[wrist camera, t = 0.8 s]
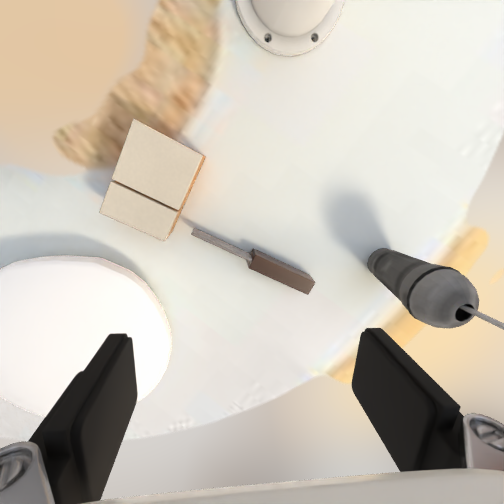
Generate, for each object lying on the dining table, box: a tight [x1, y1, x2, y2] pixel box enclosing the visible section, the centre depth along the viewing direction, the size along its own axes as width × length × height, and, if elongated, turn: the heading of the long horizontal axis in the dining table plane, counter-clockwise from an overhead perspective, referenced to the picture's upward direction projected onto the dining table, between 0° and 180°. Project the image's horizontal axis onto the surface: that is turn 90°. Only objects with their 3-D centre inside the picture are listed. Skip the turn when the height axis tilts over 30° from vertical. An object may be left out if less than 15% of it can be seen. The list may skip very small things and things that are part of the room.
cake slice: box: [99, 181, 183, 241], centre depth 34 cm, size 4×8×5 cm, turn 63°
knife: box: [191, 228, 315, 294], centre depth 38 cm, size 2×19×3 cm, turn 63°
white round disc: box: [0, 255, 172, 417], centre depth 38 cm, size 28×6×27 cm
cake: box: [112, 119, 205, 210], centre depth 32 cm, size 7×8×5 cm
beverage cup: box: [368, 248, 504, 329], centre depth 33 cm, size 7×7×20 cm
